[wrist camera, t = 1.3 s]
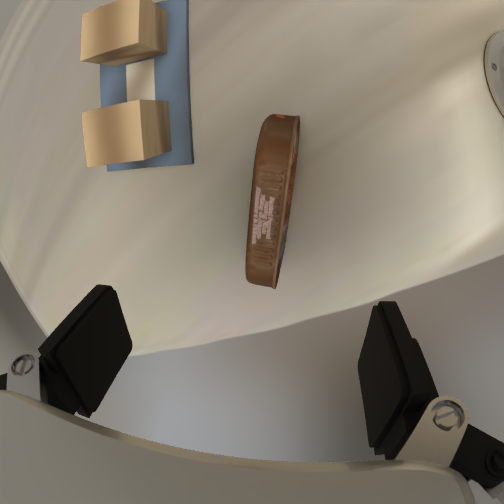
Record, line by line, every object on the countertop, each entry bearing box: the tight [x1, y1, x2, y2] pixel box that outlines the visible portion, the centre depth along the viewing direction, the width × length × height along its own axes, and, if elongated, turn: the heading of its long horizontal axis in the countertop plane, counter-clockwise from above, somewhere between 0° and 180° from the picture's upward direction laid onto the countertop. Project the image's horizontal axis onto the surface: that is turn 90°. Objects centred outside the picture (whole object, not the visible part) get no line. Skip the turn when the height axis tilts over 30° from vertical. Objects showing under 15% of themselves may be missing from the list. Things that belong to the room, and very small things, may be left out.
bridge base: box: [81, 0, 194, 172], centre depth 22 cm, size 10×18×7 cm, turn 2°
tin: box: [245, 114, 300, 289], centre depth 25 cm, size 15×3×8 cm, turn 175°
